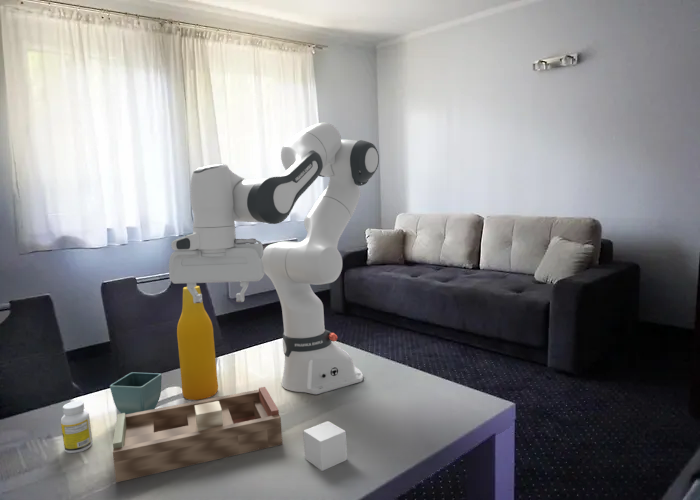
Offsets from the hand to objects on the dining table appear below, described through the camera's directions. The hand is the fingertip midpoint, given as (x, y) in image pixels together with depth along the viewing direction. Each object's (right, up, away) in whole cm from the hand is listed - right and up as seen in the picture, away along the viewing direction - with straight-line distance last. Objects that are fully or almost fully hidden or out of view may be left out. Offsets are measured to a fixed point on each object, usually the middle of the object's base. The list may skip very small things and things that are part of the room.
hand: (219, 302), depth 112 cm
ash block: (0, -26, -6) cm, 27 cm away
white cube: (+24, -30, -12) cm, 40 cm away
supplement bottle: (-30, -31, -2) cm, 43 cm away
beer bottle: (-11, -27, +24) cm, 38 cm away
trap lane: (-3, -30, -3) cm, 30 cm away
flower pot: (-23, -29, +13) cm, 39 cm away
